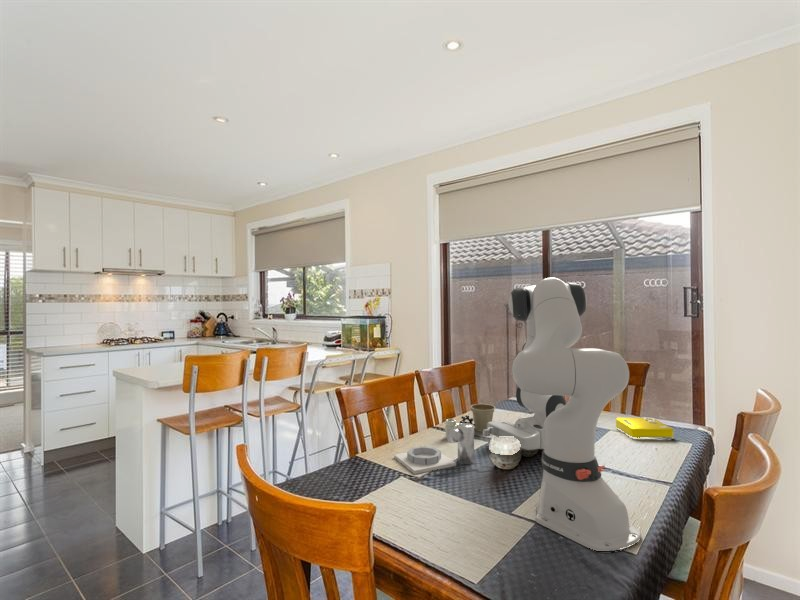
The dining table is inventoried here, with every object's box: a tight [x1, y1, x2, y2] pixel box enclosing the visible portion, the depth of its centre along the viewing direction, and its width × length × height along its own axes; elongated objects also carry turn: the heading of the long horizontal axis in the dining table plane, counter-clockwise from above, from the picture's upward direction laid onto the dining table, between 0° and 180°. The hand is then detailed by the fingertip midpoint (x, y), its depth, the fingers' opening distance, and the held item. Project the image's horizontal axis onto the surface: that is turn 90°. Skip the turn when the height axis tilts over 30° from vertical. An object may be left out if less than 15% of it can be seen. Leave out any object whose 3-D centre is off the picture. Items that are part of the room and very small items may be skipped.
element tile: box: [615, 417, 674, 438], centre depth 162 cm, size 15×15×5 cm
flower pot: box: [470, 403, 496, 432], centre depth 167 cm, size 9×9×9 cm
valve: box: [444, 414, 475, 439], centre depth 159 cm, size 7×7×12 cm
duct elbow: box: [446, 423, 475, 465], centre depth 134 cm, size 5×8×11 cm, turn 115°
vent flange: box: [393, 445, 457, 475], centre depth 134 cm, size 14×14×3 cm
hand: (492, 437), depth 139 cm, fingers open, 8 cm apart
